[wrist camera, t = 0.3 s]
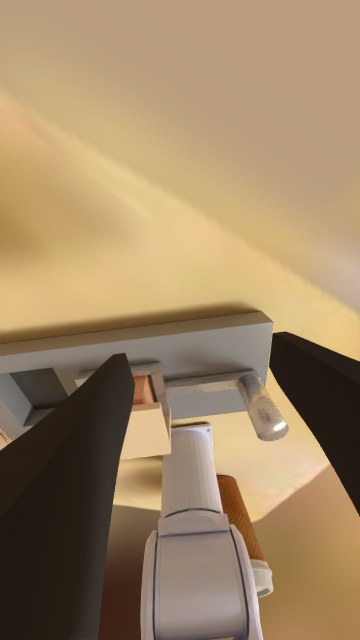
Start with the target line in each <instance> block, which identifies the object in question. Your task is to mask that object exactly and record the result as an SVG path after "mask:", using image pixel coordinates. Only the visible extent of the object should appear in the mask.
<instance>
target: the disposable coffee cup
mask: <svg viewBox="0 0 360 640" xmlns="http://www.w3.org/2000/svg"><path fill="white" fill-rule="evenodd" d="M217 482H218V488H219V493H220V498H221V504H222V509H223V514H227V517H228V522H229V525H231V524H233V525H234V526H235V527H236V528H237V530H238V531H239V532H240V533H241V535H242V537H243V539H244V542H245V545H246V548H247V552H248V555H249V559H250V563H251V567H252V571H253V576H254V581H255V586H256V592H257V598H259V597H263V596H265V595H268V594H270V593H272V592H273V586H272V579H271V576H272V572H271V570H270V569H269V568H268V565H267V563H266V562H265V559H264V557H263V554H262V551H261V549H260V546H259V543H258V540H257V538H256V535H255V532H254V530H253V527H252V524H251V521H250V518H249V516H248V513H247V510H246V507H245V505H244V502H243V499H242V496H241V494H240V491H239V488H238V485H237V483H236V480H235V479H234V478H232V477H230V476H217Z"/></svg>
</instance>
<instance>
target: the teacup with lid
mask: <svg viewBox="0 0 360 640" xmlns="http://www.w3.org/2000/svg"><path fill="white" fill-rule="evenodd" d="M5 446H7V443H6V441H5V439H4V437H3V436H2V435H1V434H0V450H1V449H3V448H4V447H5Z"/></svg>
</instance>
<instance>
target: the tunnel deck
mask: <svg viewBox="0 0 360 640" xmlns="http://www.w3.org/2000/svg"><path fill="white" fill-rule="evenodd" d="M273 323H274V322H273V321H272V320H271V319H270V318H269V317H268V316H266V315H265V314H264V313H263V312H262V311H258V312H250V313H242V314H234V315H226V316H218V317H210V318H202V319H194V320H186V321H178V322H170V323H162V324H154V325H146V326H139V327H131V328H123V329H115V330H107V331H99V332H91V333H83V334H75V335H67V336H59V337H51V338H43V339H35V340H27V341H19V342H11V343H3V344H0V428H1V429H2V430H3V431H4V432H5V433H6V434H7V435H8V437H9V438H10V439H17V438H18V437H19V436H21V435H22V434H24V433H25V432H26V431H28V430H29V429H30V428H31V427H33V426H34V425H35V424H37V423H38V422H39V421H40V420H42V419H43V418H44V417H45V416H47V415H48V414H49V413H50V412H51V411H53V410H54V409H55V408H56V407H57V406H59V405H60V404H61V403H62V402H63V401H64V400H65V399H66V398H67V397H69V396H70V395H71V394H72V393H73V392H74V391H75V390H76V389H77V388H78V386H77V384H76V382H75V380H74V379H75V378H76V376H77V375H78V373H79V372H86V371H94V370H97V369H98V368H99V367H100V366H101V365H102V364H103V363H104V362H105V361H106V360H107V359H108V358H110V357H111V356H112V355H113V354H119V353H126V356H127V359H128V362H129V365H130V366H134V365H142V364H150V363H159V362H161V364H162V369H163V374H164V379H165V381H171V380H179V379H187V378H195V377H203V376H211V375H220V374H228V373H236V372H244V371H252V370H257V372H258V374H259V375H260V380H261V382H262V383H263V385H264V387H265V384H266V376H267V369H268V361H269V353H270V346H271V338H272V330H273ZM149 379H150V383H151V387H152V391H153V395H154V399H155V403H149V404H140V405H133V406H132V410H131V415H130V419H129V423H128V427H127V431H126V435H125V439H124V443H123V447H122V452H121V456H120V460H124V459H132V458H140V457H149V456H157V455H165V454H171V420H176V419H184V418H192V417H200V416H209V415H217V414H225V413H233V412H242V411H247V410H246V407H245V405H244V403H243V400H242V398H241V396H240V393H239V391H238V388H236V389H228V390H220V391H212V392H204V393H195V394H187V395H179V396H171V397H168V398H169V403H170V413H169V414H163V412H162V407H161V403H160V402H158V400H157V396H156V392H155V388H154V384H153V380H152V376H151V375H149Z"/></svg>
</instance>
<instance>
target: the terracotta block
mask: <svg viewBox="0 0 360 640" xmlns="http://www.w3.org/2000/svg"><path fill="white" fill-rule="evenodd" d="M133 378H134V381H135V392H134V400H133V405H140V404H149V403H155V399H154V395H153V391H152V387H151V383H150V379H149V375H143V376H135V377H133Z"/></svg>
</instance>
